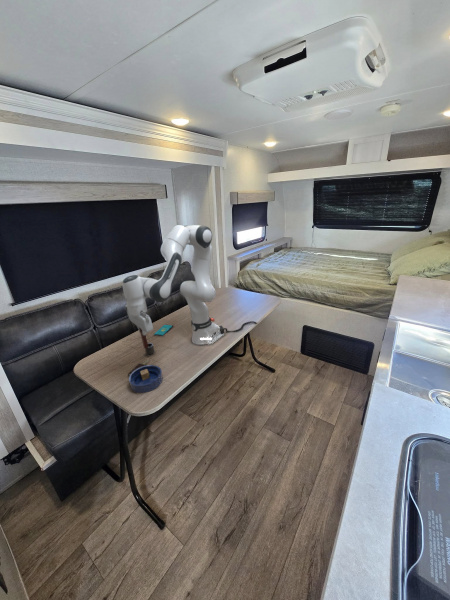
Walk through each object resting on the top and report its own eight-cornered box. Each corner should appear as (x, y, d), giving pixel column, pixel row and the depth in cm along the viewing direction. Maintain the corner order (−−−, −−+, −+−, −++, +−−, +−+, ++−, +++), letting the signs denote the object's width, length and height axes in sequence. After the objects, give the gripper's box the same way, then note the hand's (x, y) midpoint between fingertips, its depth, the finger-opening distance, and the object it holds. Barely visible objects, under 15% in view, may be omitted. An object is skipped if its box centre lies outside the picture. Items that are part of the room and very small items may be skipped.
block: (148, 374, 126) (146, 368, 125) (149, 377, 123) (148, 372, 122) (141, 376, 125) (140, 371, 123) (142, 380, 122) (141, 374, 120)
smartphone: (173, 325, 177) (162, 335, 163) (173, 326, 177) (162, 336, 164) (164, 324, 179) (153, 334, 165) (164, 325, 179) (153, 335, 166)
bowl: (154, 368, 131) (152, 361, 129) (168, 382, 120) (167, 374, 118) (126, 383, 122) (123, 375, 120) (138, 399, 111) (136, 390, 109)
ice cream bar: (144, 360, 139) (127, 377, 126) (144, 358, 138) (126, 374, 125) (152, 361, 137) (135, 379, 124) (151, 359, 137) (135, 376, 124)
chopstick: (147, 346, 126) (141, 320, 120) (148, 347, 125) (142, 321, 119) (143, 347, 125) (137, 322, 119) (145, 348, 124) (139, 323, 118)
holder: (152, 350, 148) (150, 342, 146) (156, 353, 145) (154, 345, 143) (144, 353, 145) (142, 345, 143) (148, 357, 142) (146, 348, 140)
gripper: (153, 312, 111) (158, 338, 116) (135, 301, 125) (140, 325, 131) (140, 317, 107) (146, 343, 113) (123, 305, 122) (129, 329, 127)
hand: (143, 333), depth 122 cm, fingers closed on chopstick, 2 cm apart
